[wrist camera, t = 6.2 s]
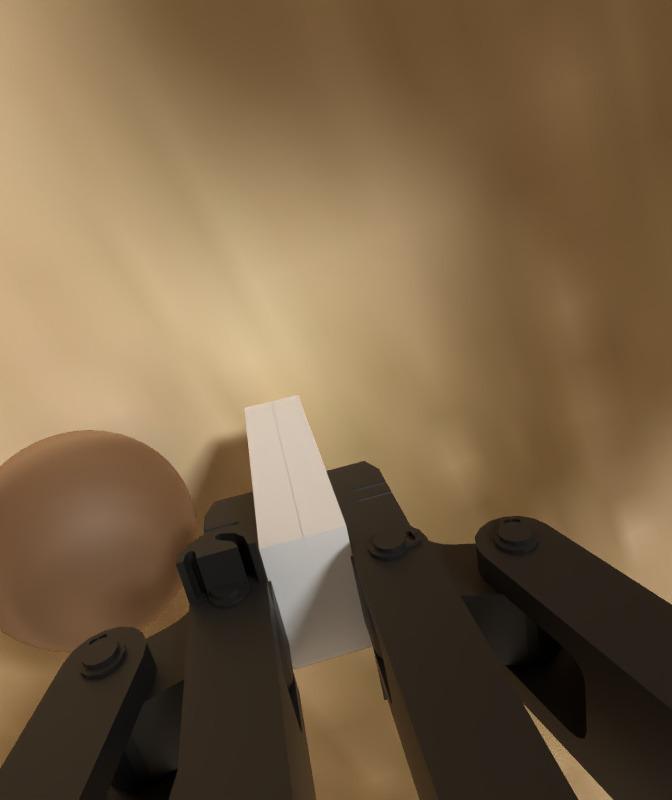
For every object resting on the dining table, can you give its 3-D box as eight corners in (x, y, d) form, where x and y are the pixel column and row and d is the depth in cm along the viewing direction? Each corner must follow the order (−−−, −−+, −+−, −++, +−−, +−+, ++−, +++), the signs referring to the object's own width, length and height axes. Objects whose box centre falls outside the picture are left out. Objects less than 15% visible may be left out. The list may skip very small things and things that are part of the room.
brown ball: (174, 441, 12) (120, 370, 17) (-106, 585, 10) (-83, 462, 15) (255, 609, 15) (191, 510, 19) (45, 747, 13) (27, 602, 18)
